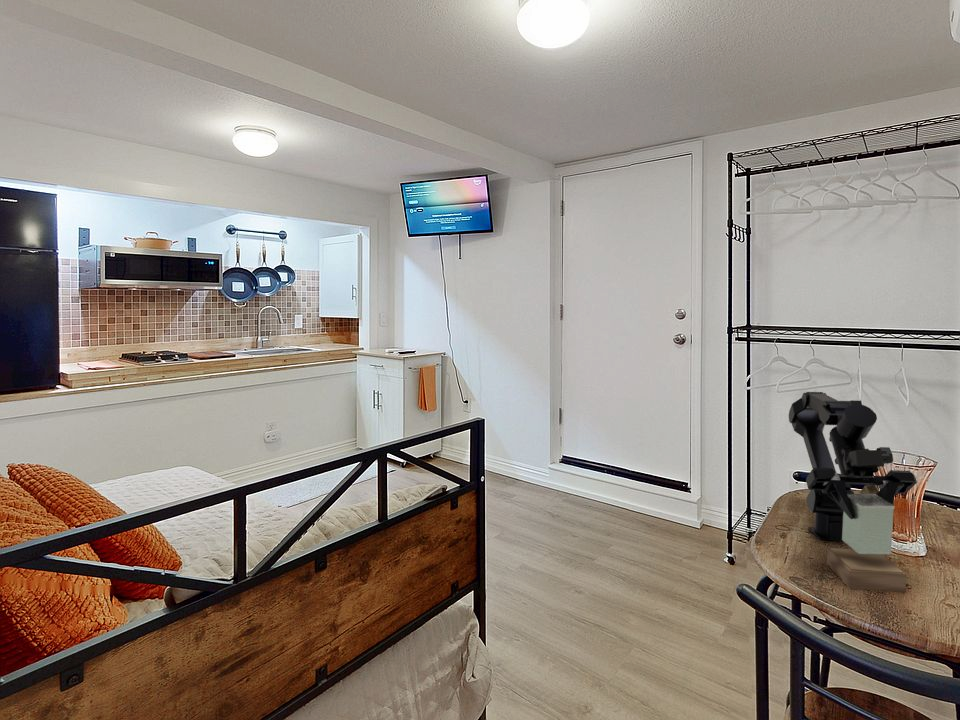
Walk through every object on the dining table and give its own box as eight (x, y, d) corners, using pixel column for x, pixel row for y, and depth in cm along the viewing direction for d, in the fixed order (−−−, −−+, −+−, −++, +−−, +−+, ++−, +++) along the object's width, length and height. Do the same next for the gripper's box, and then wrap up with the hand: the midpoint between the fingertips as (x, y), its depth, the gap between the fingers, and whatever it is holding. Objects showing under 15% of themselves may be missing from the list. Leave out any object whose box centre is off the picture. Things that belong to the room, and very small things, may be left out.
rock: (847, 496, 148) (844, 503, 140) (872, 475, 145) (870, 481, 137) (885, 527, 143) (884, 536, 135) (911, 506, 140) (912, 514, 132)
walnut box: (826, 565, 117) (827, 547, 116) (877, 568, 115) (878, 549, 115) (849, 590, 107) (849, 570, 107) (905, 593, 105) (906, 573, 105)
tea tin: (841, 539, 114) (843, 493, 112) (872, 540, 113) (875, 494, 112) (858, 554, 108) (861, 505, 106) (891, 554, 107) (894, 505, 106)
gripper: (813, 431, 113) (832, 501, 104) (915, 433, 109) (944, 506, 100) (798, 455, 122) (815, 522, 113) (892, 458, 118) (917, 527, 108)
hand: (871, 519), depth 108 cm, fingers closed on tea tin, 6 cm apart
